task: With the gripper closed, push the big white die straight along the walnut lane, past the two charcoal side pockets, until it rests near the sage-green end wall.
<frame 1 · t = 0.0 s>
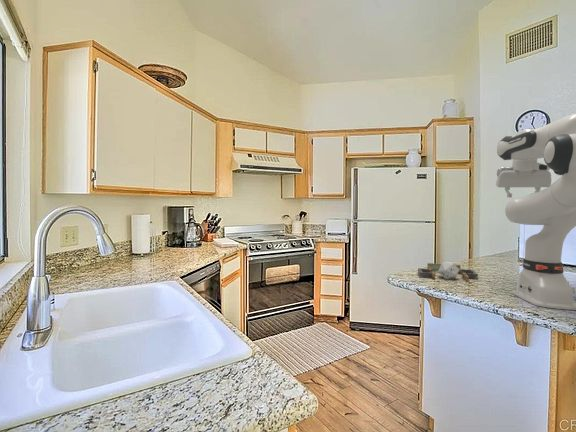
hand: (521, 197, 144), 39 cm above the countertop, tool pointing down, fingers open, 8 cm apart
trap lane: (446, 276, 156), on the countertop
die: (448, 278, 151), on the countertop
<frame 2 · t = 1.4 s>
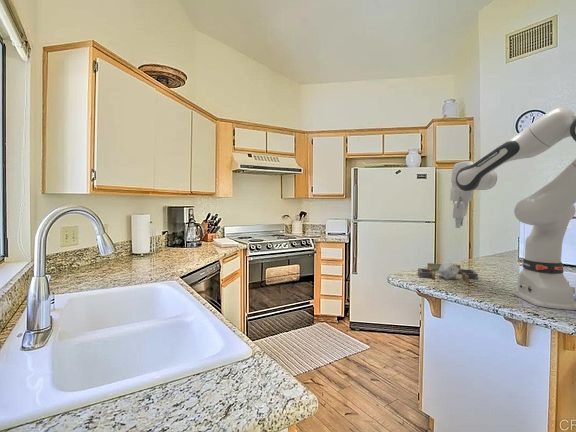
hand: (459, 226, 147), 25 cm above the countertop, tool pointing down, fingers open, 8 cm apart
nothing on the countertop moved.
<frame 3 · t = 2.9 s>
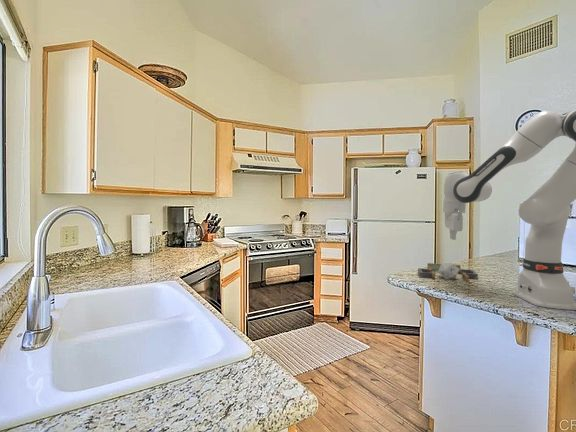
hand: (452, 239, 142), 20 cm above the countertop, tool pointing down, fingers closed
nothing on the countertop moved.
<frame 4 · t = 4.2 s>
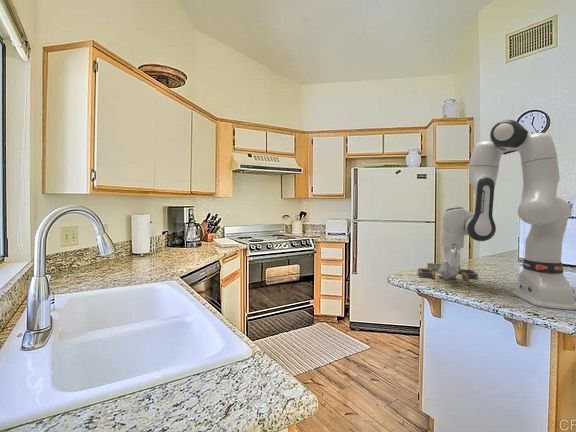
hand: (451, 273, 144), 4 cm above the countertop, tool pointing down, fingers closed
nothing on the countertop moved.
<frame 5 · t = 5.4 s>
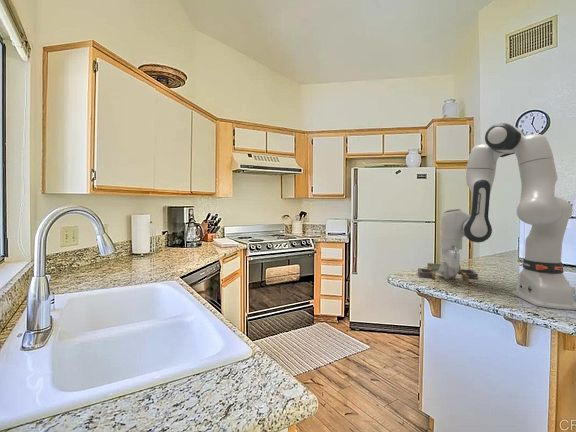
hand: (450, 274, 146), 3 cm above the countertop, tool pointing down, fingers closed
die: (448, 278, 152), on the countertop, touching gripper
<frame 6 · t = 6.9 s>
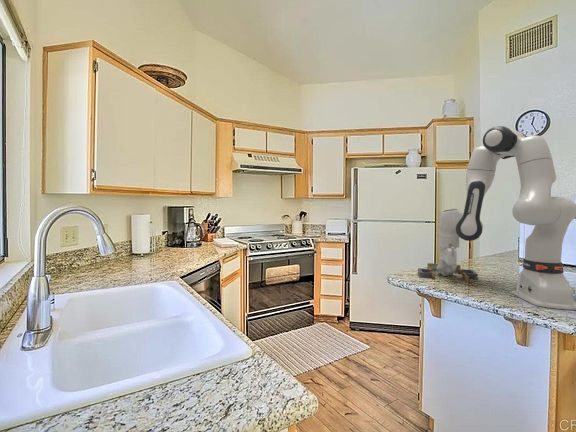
hand: (447, 271, 152), 3 cm above the countertop, tool pointing down, fingers closed
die: (446, 275, 158), on the countertop, touching gripper
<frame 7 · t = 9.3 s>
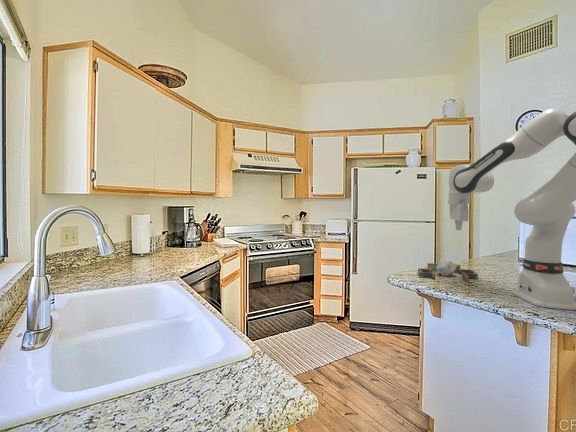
hand: (458, 230, 147), 24 cm above the countertop, tool pointing down, fingers closed
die: (446, 275, 158), on the countertop
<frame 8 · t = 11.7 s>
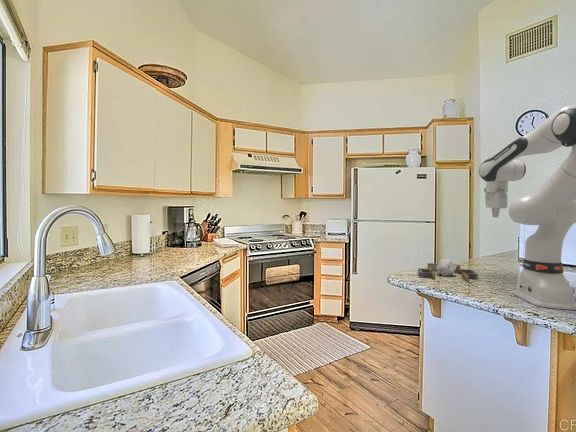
hand: (495, 217, 153), 29 cm above the countertop, tool pointing down, fingers closed
nothing on the countertop moved.
at the end: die inside the target area (2.6 cm from its centre), on the countertop; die tilted 0°; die moved 6.7 cm from its start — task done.
